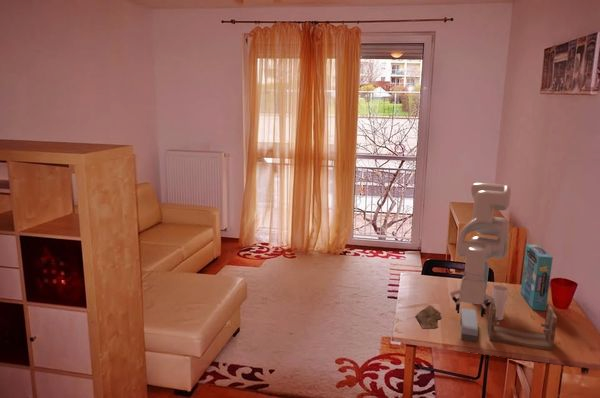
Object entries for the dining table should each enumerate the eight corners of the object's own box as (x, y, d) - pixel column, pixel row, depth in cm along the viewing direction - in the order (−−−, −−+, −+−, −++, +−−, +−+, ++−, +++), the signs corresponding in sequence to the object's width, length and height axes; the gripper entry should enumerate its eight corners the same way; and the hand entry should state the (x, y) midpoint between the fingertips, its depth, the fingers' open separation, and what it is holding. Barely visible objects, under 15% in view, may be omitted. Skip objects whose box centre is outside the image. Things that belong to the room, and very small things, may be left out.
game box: (546, 311, 220) (553, 257, 214) (532, 310, 221) (539, 256, 215) (532, 294, 239) (539, 244, 234) (519, 293, 240) (526, 243, 235)
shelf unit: (487, 327, 202) (490, 297, 200) (546, 336, 196) (551, 305, 193) (489, 340, 191) (493, 309, 188) (552, 350, 184) (557, 318, 181)
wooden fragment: (436, 332, 198) (436, 329, 198) (410, 326, 202) (411, 324, 202) (444, 308, 221) (444, 306, 221) (421, 304, 225) (421, 302, 225)
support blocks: (460, 320, 209) (461, 314, 208) (474, 322, 207) (475, 316, 206) (461, 339, 192) (462, 332, 191) (476, 341, 190) (477, 335, 189)
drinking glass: (494, 322, 207) (497, 291, 204) (485, 315, 214) (489, 285, 211) (507, 321, 209) (511, 290, 205) (499, 314, 215) (502, 284, 212)
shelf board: (460, 313, 209) (461, 308, 208) (474, 315, 207) (475, 310, 207) (462, 333, 190) (462, 328, 190) (477, 336, 188) (478, 330, 188)
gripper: (452, 276, 193) (448, 314, 196) (496, 281, 188) (492, 320, 191) (452, 270, 200) (448, 307, 203) (494, 275, 195) (490, 313, 198)
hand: (469, 313), depth 197 cm, fingers open, 9 cm apart
